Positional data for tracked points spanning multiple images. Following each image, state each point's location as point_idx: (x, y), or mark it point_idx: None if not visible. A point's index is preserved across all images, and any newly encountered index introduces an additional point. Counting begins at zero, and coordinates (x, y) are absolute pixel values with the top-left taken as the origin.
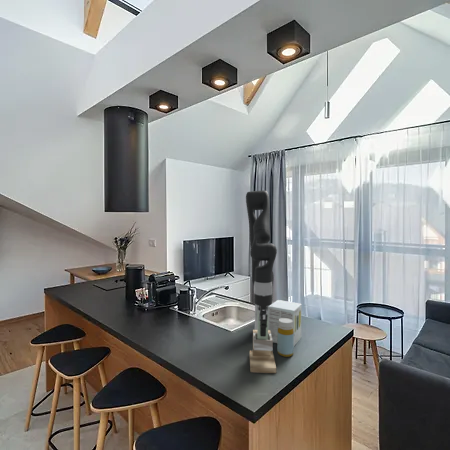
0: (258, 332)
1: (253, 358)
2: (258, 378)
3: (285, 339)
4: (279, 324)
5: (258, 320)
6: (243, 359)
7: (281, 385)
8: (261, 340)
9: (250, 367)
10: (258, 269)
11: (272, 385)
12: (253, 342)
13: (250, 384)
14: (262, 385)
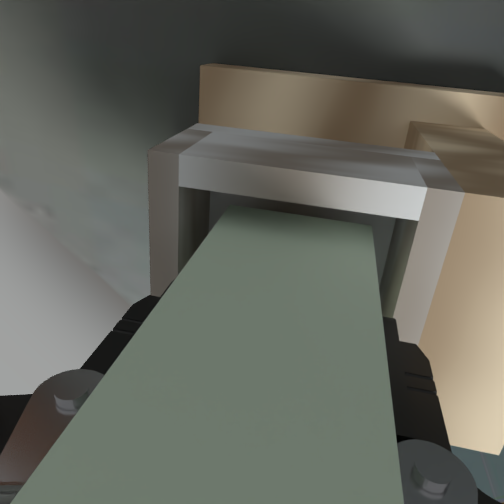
0: (182, 275)
1: (356, 117)
2: (134, 115)
3: None
4: None
5: (40, 477)
6: (445, 16)
7: (78, 244)
8: (152, 258)
9: (218, 66)
10: None
11: (69, 192)
12: (307, 146)
13: (54, 41)
14: (58, 128)
